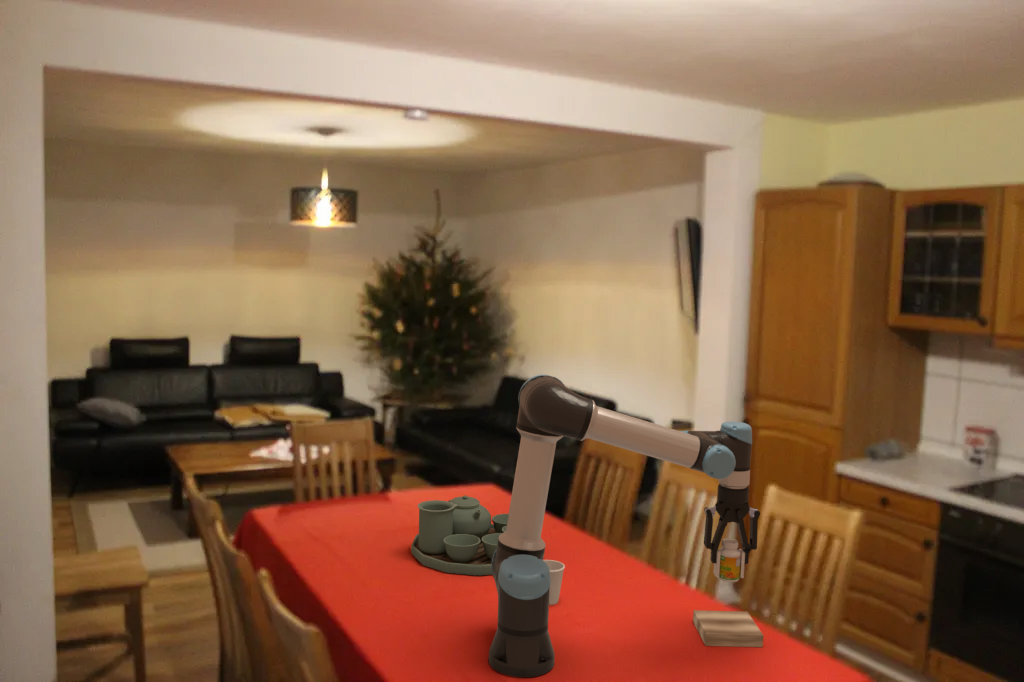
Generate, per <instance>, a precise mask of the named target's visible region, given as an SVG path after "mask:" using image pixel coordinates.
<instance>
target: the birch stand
mask: <svg viewBox="0 0 1024 682" xmlns="http://www.w3.org/2000/svg"><path fill="white" fill-rule="evenodd" d="M692 622H693V624H694V627H695V628H696V631H697V633H698V634H699V636H700V639H701V640H702V642H703V644H704V646H707V647H741V648H745V647H747V648H763V646H764V634H763V633H762V631H761V630H760V628H759V627H758V625H757V624H756V622H755V620H754V619H753V618H752V617H751V614H750V612H748V611H738V610H737V611H733V610H732V611H730V610H700V609H699V610H697V609H694V610H693V611H692Z"/></svg>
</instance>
